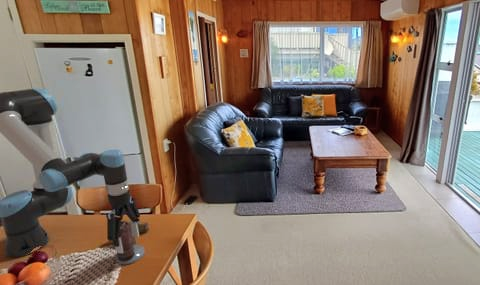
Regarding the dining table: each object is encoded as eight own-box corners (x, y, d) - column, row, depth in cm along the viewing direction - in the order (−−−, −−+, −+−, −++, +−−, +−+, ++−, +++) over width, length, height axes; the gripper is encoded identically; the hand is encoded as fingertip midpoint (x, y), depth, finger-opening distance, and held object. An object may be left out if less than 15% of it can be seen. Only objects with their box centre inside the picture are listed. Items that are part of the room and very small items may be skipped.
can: (138, 251, 115) (132, 220, 111) (129, 262, 109) (122, 230, 105) (124, 250, 116) (118, 219, 113) (114, 261, 111) (107, 228, 107)
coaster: (109, 262, 111) (108, 260, 111) (126, 245, 121) (126, 243, 121) (134, 266, 108) (133, 264, 108) (150, 248, 118) (149, 246, 118)
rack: (108, 243, 123) (107, 235, 122) (125, 227, 134) (124, 220, 133) (133, 246, 120) (132, 238, 119) (148, 230, 131) (147, 222, 130)
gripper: (106, 207, 96) (118, 264, 102) (144, 179, 116) (151, 229, 123) (87, 205, 98) (100, 261, 104) (127, 178, 118) (136, 227, 125)
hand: (128, 244), depth 113 cm, fingers open, 9 cm apart
